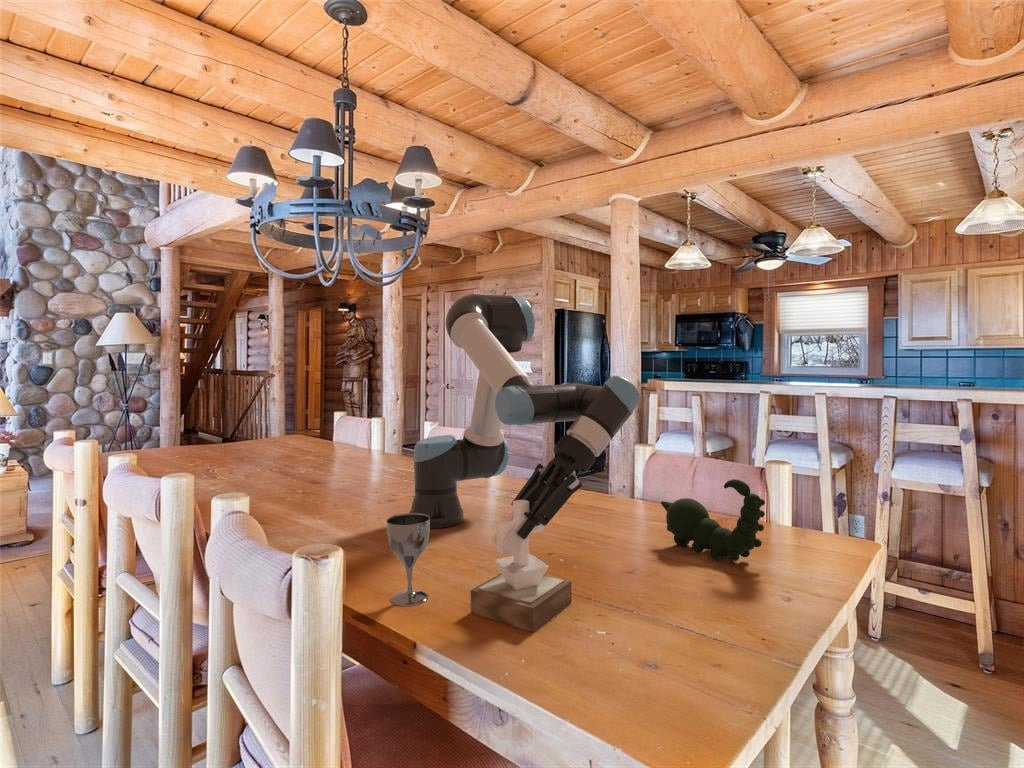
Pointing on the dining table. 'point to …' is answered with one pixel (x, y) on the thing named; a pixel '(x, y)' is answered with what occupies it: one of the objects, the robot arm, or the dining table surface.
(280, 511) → the dining table surface
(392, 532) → the wine glass
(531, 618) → the walnut pedestal
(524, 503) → the figurine
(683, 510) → the toy figurine
